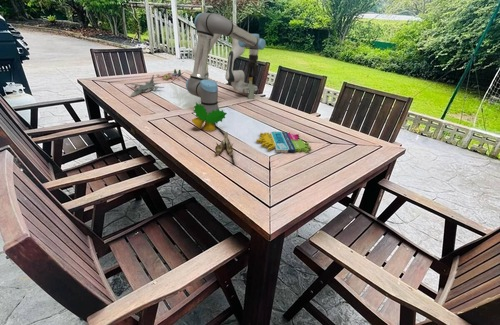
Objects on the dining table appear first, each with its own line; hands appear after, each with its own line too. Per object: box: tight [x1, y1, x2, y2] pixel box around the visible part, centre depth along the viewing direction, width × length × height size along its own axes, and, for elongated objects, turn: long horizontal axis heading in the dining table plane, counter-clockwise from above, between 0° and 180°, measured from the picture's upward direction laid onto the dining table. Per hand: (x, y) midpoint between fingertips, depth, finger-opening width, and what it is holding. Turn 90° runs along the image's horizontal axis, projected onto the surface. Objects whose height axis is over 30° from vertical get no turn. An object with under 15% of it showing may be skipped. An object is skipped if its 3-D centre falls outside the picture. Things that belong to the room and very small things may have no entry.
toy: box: [155, 68, 182, 81], centre depth 281 cm, size 28×7×30 cm
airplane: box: [130, 74, 165, 97], centre depth 228 cm, size 38×32×10 cm
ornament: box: [191, 102, 228, 132], centre depth 162 cm, size 21×8×15 cm, turn 105°
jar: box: [247, 80, 255, 100], centre depth 228 cm, size 5×5×17 cm
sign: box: [256, 131, 312, 154], centre depth 152 cm, size 26×2×30 cm
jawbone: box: [214, 131, 234, 156], centre depth 136 cm, size 9×15×10 cm
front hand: (251, 83), depth 226 cm, fingers closed on lid, 5 cm apart
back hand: (251, 91), depth 228 cm, fingers closed on jar, 5 cm apart
